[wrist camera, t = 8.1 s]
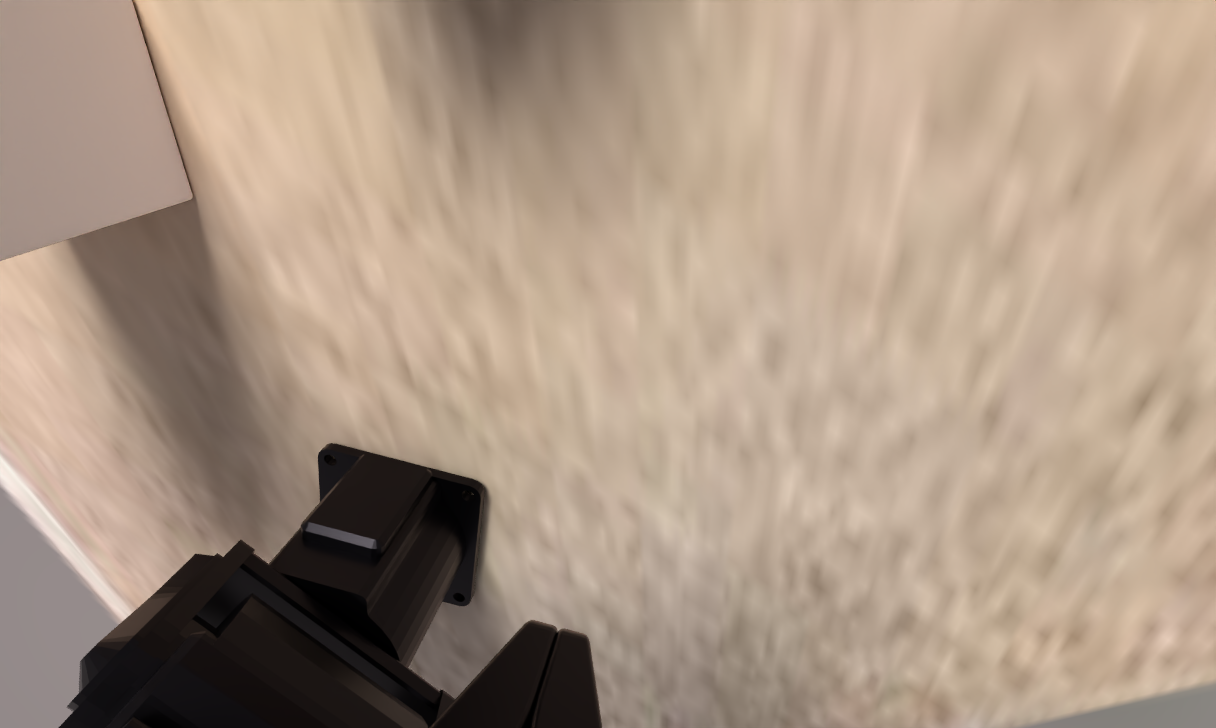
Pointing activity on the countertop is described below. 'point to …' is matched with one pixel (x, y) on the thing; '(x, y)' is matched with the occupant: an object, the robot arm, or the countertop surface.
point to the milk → (79, 123)
